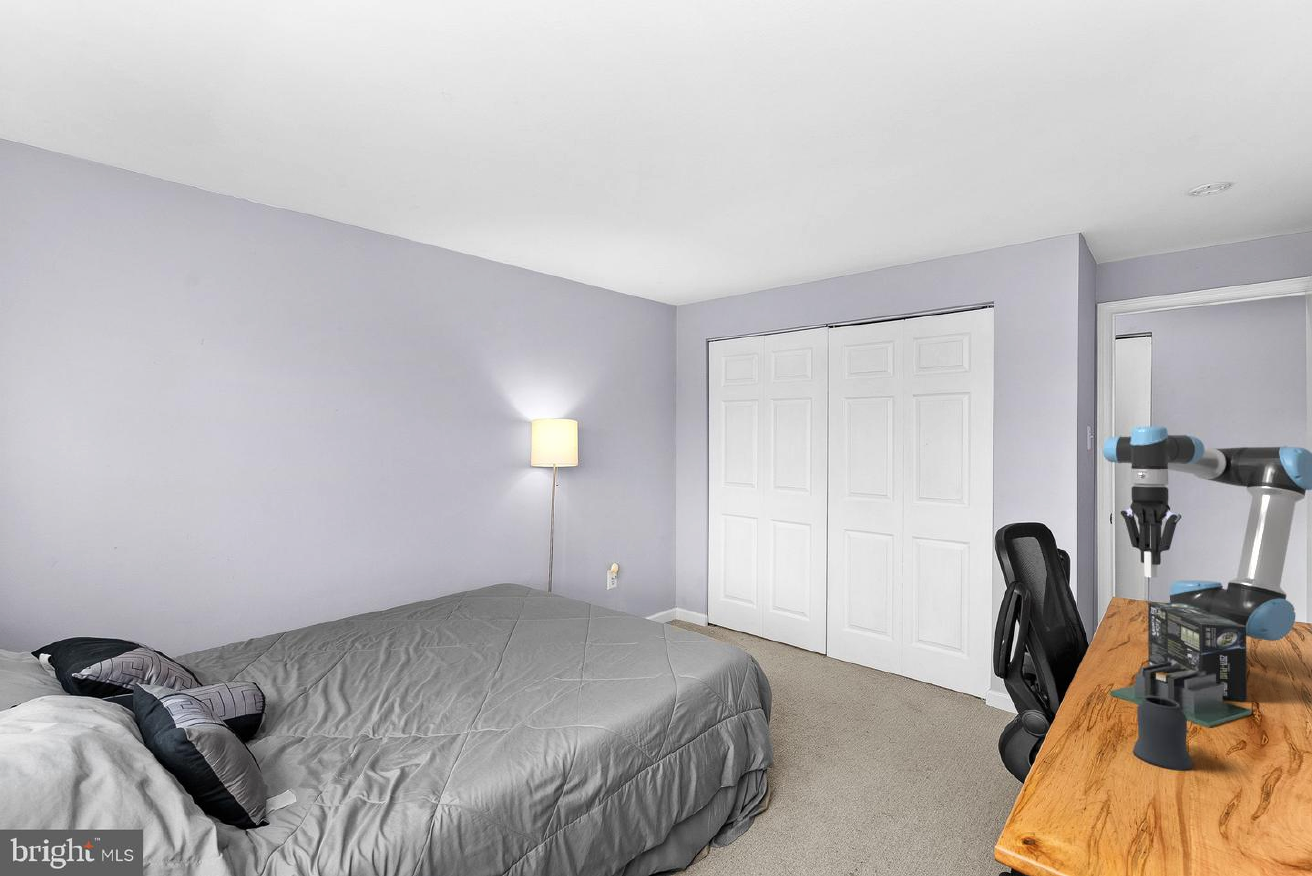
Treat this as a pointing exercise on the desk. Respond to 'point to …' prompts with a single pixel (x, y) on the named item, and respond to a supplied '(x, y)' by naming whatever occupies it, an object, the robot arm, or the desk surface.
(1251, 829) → the desk surface
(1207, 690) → the heatsink
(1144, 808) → the desk surface
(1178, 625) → the box
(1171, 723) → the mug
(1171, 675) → the strap
